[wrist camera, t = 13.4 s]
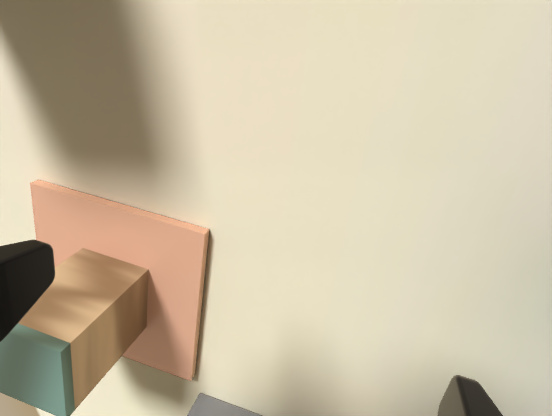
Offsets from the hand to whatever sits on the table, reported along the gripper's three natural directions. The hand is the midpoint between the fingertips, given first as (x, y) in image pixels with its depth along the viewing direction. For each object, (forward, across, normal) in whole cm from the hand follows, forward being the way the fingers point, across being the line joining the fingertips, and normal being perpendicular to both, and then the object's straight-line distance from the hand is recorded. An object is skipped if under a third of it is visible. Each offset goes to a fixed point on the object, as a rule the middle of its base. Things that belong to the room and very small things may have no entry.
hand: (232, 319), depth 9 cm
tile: (+12, +11, +11) cm, 20 cm away
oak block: (+11, +11, +11) cm, 19 cm away
